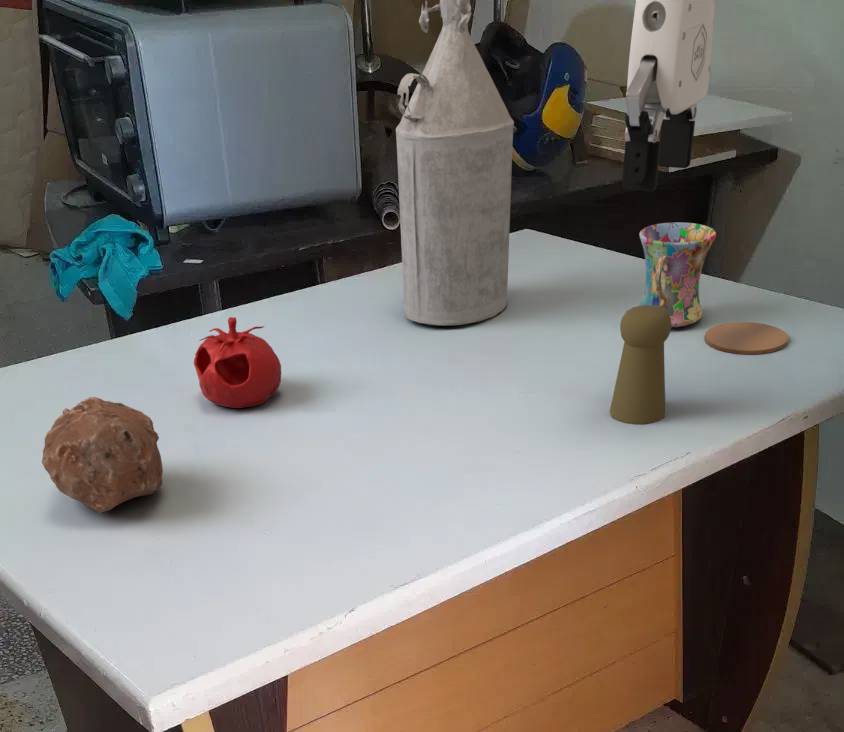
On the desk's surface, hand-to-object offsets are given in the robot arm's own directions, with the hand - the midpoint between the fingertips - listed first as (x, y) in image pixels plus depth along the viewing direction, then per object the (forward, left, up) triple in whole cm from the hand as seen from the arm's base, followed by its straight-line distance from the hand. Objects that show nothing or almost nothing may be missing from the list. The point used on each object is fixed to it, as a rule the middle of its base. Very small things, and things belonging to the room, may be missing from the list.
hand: (656, 177), depth 98 cm
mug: (+5, -26, -23) cm, 35 cm away
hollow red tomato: (+43, +15, -23) cm, 51 cm away
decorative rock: (+40, +41, -23) cm, 62 cm away
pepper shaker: (-1, +2, -23) cm, 23 cm away
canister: (+33, -21, -23) cm, 45 cm away
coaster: (-6, -24, -22) cm, 33 cm away
